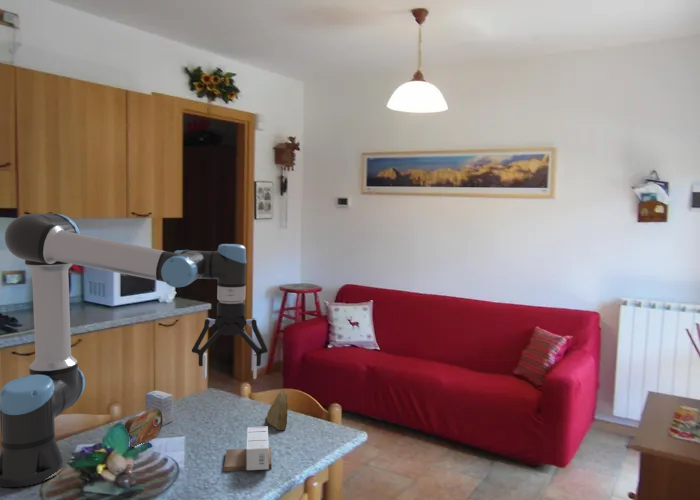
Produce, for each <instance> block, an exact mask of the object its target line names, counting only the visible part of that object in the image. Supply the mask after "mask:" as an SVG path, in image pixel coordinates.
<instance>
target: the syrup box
mask: <svg viewBox="0 0 700 500" xmlns="http://www.w3.org/2000/svg"><path fill="white" fill-rule="evenodd" d="M246 429H247V430H246V444H245V449H246V470H245V471H259V470H260V471H261V470H270V469H269V447H270V443H269V427H268V425H267V426H249V427H248V426H247V428H246Z"/></svg>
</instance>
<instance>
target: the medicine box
mask: <svg viewBox="0 0 700 500" xmlns="http://www.w3.org/2000/svg"><path fill="white" fill-rule="evenodd" d="M146 409H159V410H160V411H161V413H162V418H163V422H162V426H165V425H167V424H170V423H172V422H174V395H173V394H171V393H167V392H164V391H161V390H152V391H150V392H148V393H145V410H146Z"/></svg>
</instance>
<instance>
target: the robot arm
mask: <svg viewBox="0 0 700 500" xmlns="http://www.w3.org/2000/svg"><path fill="white" fill-rule="evenodd" d="M4 243H5V246H6V247H7V249H8V251H9V252H10V253H11V254H12V255H13V256H15V257H17V258H18V259H21V260H24V264H25V266H26V267H27V268H28V269H29V270H30V271H31V273H32V274H31V276H32V277H31V279H32V300H33V301H32V303H33V304H32V305H33V324H34V325H33V326H34V327H33V328H34V329H33V330H34V349H35V351H34V352H35V353H34V354H35V358H34V361H33V362H31V364H29V368H28V369H29V375H24V376H21V377H19V378H15V379H12V380H10V381H8V382H7V383H5V385H3V387H2V388H1V389H0V487H1V486H3V487H2V488H7V487H18V488H22V487H21V486H26V487H29V486H28V485H31V486H34V485H33V484H35V485H38V484H37V483H39V484H41V482H42V481H44V480H45V479H46V478H48V477H49V476H51V475H52V474H54V473H55V472H57V471H58V470H59V469H61V468H62V467H63V468H64V457H63V455H62V452H61V450H60V448H59V444H58V443H57V441H56V433H55V430H56V429H55V428H56V427H55V418H56V417H57V418H58V416H60V414H62V413H63V412H64V411H66V410H67V409H69V408H70V407H72V406H73V405H74V404H75V403H76V402H78V401H79V399H80V397H81V396H82V395H83V393H84V390H85V387H86V379H85V376H84V373H83V371H82V370H81V369H80V368H79V366H78V365H79V364H78V360H77V359H76V358H75V357H74V356H73V355H72V339H71V338H72V337H71V312H70V311H71V309H70V306H71V305H70V287H69V286H70V283H69V281H70V280H69V271H70V270H69V269H70V268H71V267H73V265H76V266H79V267H87V268H90V269H91V268H92V269H96V270H100V271H107V272H112V273H118V274H122V275H127V276H133V277H138V278H142V279H143V278H144V279H148V280H153V281H159V282H162V283H163V282H164V283H165V284H167V285H168V286H170V287H173V288H183V287H184V288H185V287H187V286H189V285H190V284H192V283H194V281H197V280H198V279H202V280H203V279H204V280H206V279H207V280H217V288H216V289H217V293H216V296H217V297H216V298H217V300H218V302H217V303H216V319H214V318H210V317H209V316H208V317H206V318H205V319H204V325H203V328H202V330H201V332H200V334H199V336H198V338H197V339H196V341H195V343H194V345H193V347H192V348H191V352H192V353H193V354H197V355H198V366H199V367H202V374H201V375H202V376H201V377H202V380H206V378H207V366H208V365H207V364H208V362H207V361H208V352H206V351H207V350H208V349H209V348H210V347H211V345H213V343H214V342H215V341H216V340H217V339H219V337H220V336H221V335H223V336H234V337H235V336H237V335H239V336H240V337H241V338H242V339H243V340H244V341H245V342H246V344H247V345H248V346H249V347H250V348H251V349H252V350H253V351H254V352H253V369H252V371H253V374H252V375H253V377H252V378H253V380H256V379H257V372H258V371H257V370H258V369H257V368H258V367H261V365H262V355H263V354H266V353H268V351H269V349H268V348H269V347H268V345H267V344H266V341H265V340H264V338H263V336H262V335H263V334H262V333H261V331H260V329H259V326H258V324H257V318H256V317H254V318H253V317H252V318H251V319H247V318H246V302H245V300H246V292H247V291H246V289H247V285H246V284H247V281H246V280H247V263H248V262H247V261H248V260H247V249H246V247H245V246H244V245H243V244H240V243H239V244H237V243H221V244H219V245H218V248H217V250H215V251H214V250H213V251H212V250H211V251H209V250H190V249H184V250H183V249H181V250H178V249H177V250H175V251H174V252H171V251H165V250H162V249H161V250H160V249H158V248H157V249H156V248H150V247H147V246H140V245H136V244H131V243H126V242H121V241H117V240H111V239H106V238H101V237H96V236H93V235H86V234H81V232H80V229H79V227H78V226H77V224H76V222H75V221H74V220H72V218H71V217H68V216H67V215H65V214H61V213H60V214H59V213H54V212H53V213H52V212H47V213H45V212H44V213H28V214H22V215H20V216H18V217H16V218H14V219H13V220H12V221H10V222H9V224H8V226H7V227H6V229H5V232H4ZM213 325H215V326H216V327H217V330H216V331H215V332H214V333H213V334H212V336H211V337H210V338H209V339H208V340H207V341H206V342H205V344H203V345H202V347H200V345H201V344H202V341H203V340H204V338H205V335H206V334H207V332H208V330H209V328H211V327H213ZM246 325H248V327H250V328H251V329H252V331H253V334H254V335H255V338H256V339H257V341H258V344H259V345H257V343H256V342H255V341H254V340H253V338H252V337H251V336H250V335H249V334H248V332H247V331H246V330H245V327H246ZM259 346H260V347H259ZM44 482H45V481H44ZM42 483H43V482H42Z"/></svg>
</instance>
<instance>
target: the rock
mask: <svg viewBox="0 0 700 500" xmlns="http://www.w3.org/2000/svg"><path fill="white" fill-rule="evenodd" d="M288 407H289V406H288V394H287V392H286V391H284V390H280V391H279V393H278V394H277V395H276V397H275V399H274V400H273V403H272V404H271V405H270V408H269V409H268V412H267V414H266V418H265V420H266V423H268V424H269V425H270V426H272V427H273V428H275V429H277V430H278V431H285V430H286V428H287V423H288Z"/></svg>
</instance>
